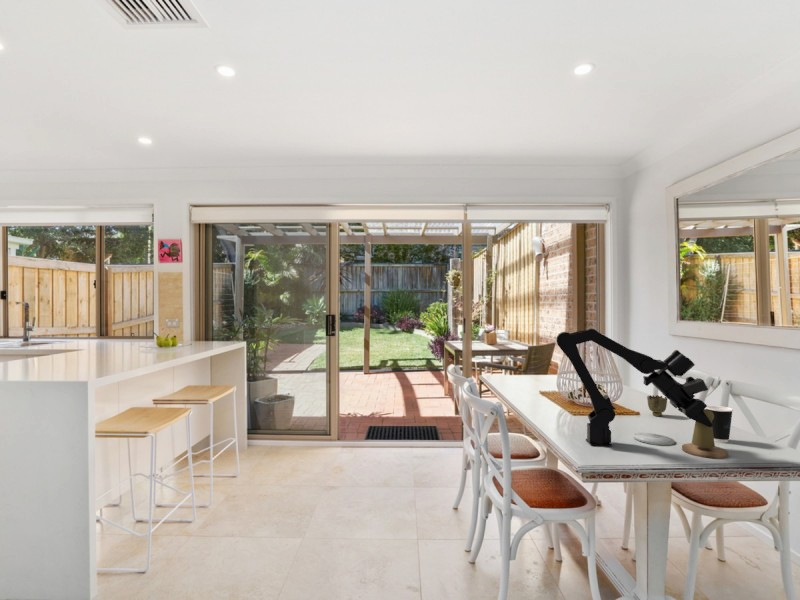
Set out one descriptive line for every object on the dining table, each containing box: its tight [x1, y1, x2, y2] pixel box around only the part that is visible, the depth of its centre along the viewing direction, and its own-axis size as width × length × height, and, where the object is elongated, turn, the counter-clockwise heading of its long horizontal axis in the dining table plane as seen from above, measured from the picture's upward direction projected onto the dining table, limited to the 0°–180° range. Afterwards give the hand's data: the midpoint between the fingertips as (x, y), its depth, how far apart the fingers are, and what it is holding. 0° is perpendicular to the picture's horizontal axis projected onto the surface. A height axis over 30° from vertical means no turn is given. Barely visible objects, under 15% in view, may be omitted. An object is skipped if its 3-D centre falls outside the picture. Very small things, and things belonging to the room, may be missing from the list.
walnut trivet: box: [681, 442, 729, 460], centre depth 142 cm, size 12×12×1 cm
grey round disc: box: [633, 432, 675, 446], centre depth 155 cm, size 12×12×1 cm
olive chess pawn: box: [691, 408, 716, 448], centre depth 142 cm, size 6×6×11 cm
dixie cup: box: [705, 405, 734, 444], centre depth 155 cm, size 8×8×11 cm
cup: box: [646, 394, 668, 417], centre depth 190 cm, size 8×7×8 cm
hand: (708, 424), depth 142 cm, fingers closed on olive chess pawn, 5 cm apart
